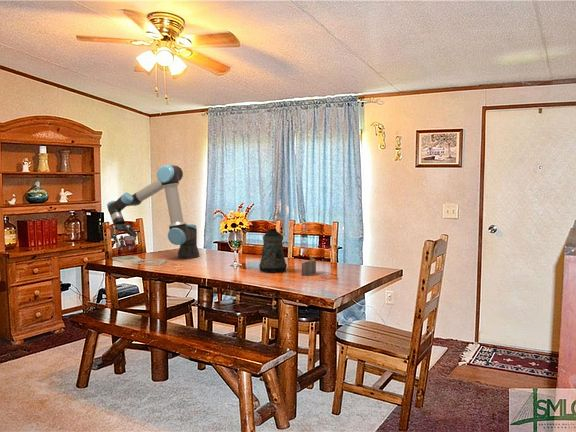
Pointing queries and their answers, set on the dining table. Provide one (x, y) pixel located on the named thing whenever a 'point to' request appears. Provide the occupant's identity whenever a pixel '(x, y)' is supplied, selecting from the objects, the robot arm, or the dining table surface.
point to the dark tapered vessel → (272, 253)
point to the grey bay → (150, 263)
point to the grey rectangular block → (309, 267)
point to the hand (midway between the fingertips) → (127, 245)
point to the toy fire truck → (126, 243)
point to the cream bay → (126, 258)
